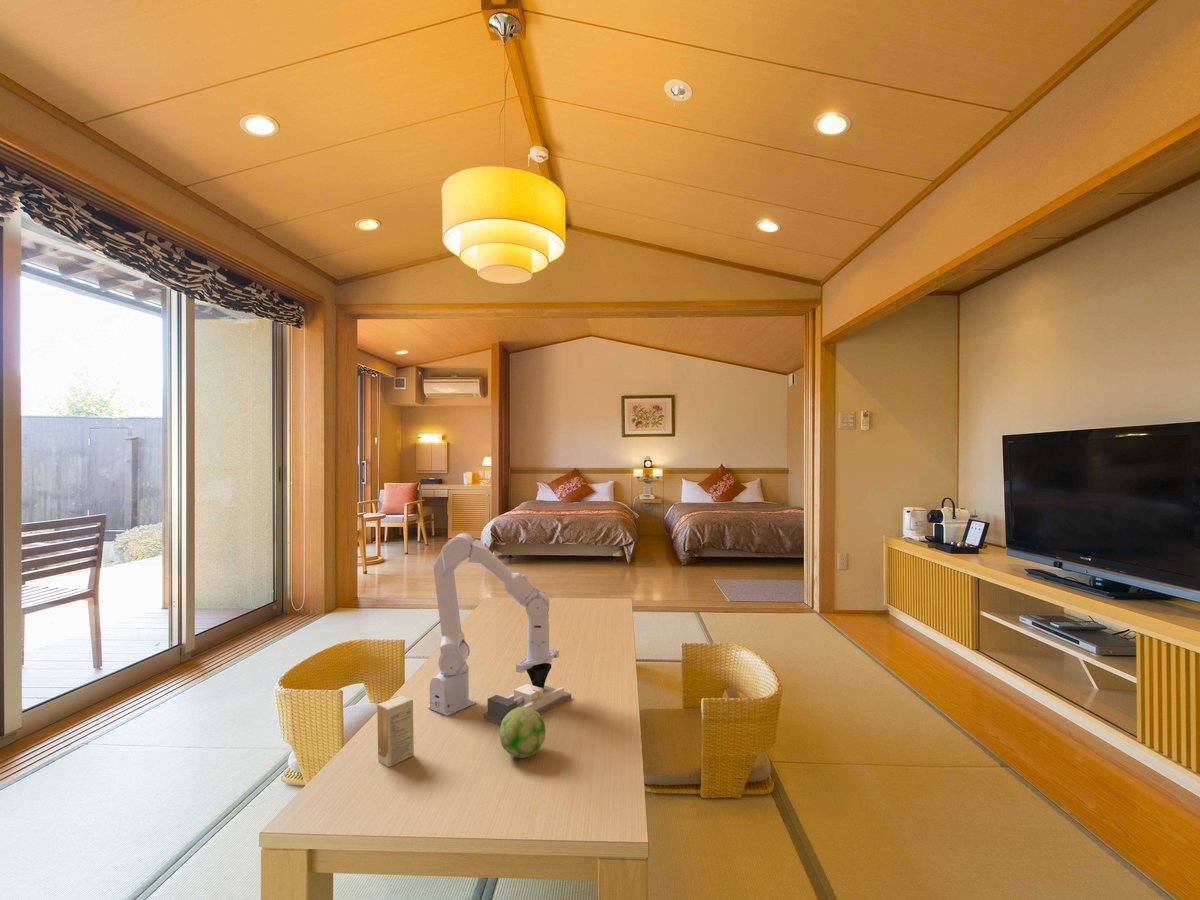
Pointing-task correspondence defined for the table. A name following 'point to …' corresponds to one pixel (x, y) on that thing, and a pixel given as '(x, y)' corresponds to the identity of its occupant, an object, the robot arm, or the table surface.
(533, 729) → the decorative ball
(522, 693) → the gauge carriage
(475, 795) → the table surface
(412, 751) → the skincare box
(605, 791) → the table surface
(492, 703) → the gauge base
